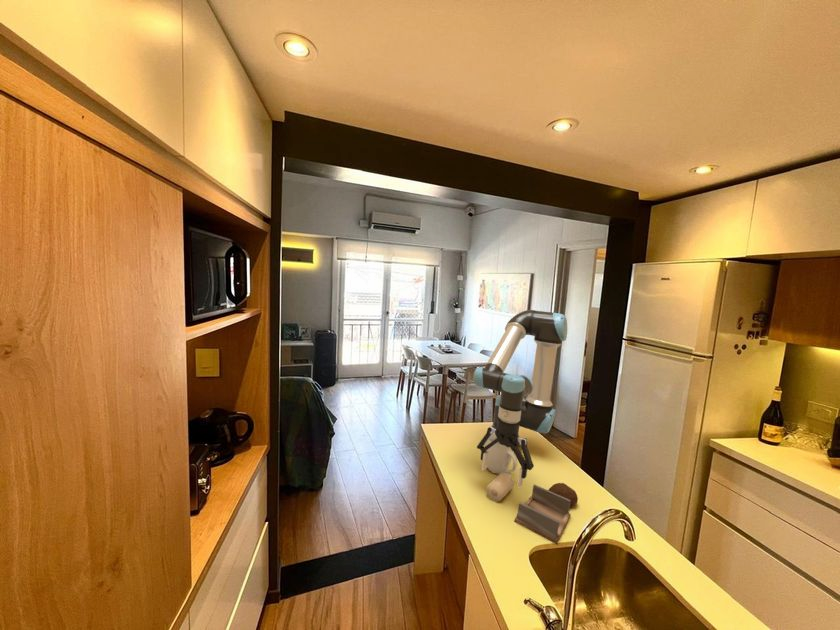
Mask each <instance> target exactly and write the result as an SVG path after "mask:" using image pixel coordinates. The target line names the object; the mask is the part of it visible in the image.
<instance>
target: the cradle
mask: <svg viewBox="0 0 840 630" xmlns="http://www.w3.org/2000/svg"><path fill="white" fill-rule="evenodd" d="M531 493H532V494H531V496H529V497H528V499H526V501H525V503H523V502H518V509H517V513H516V516H515V517H514V523H516V524H519V525H520V526H522V527H524V528H525V529H528V530H530V531H532V532H533V533H535V534H537V535H539V536H541V537H543V538H544V539H547V540H549V541H550V542H552V543H555V544H558V542H559V541H560V539H561V536H562V534H563V532H564V530H565V528H566V526H567V524H568V522H569V521H570V518H571V515H572V514H571V513H570V507H571V506H570V501H571V500H569V499H567V498H565V497H562V496H560V495H558V494H555V493H553V492H551V491H549V489H546V488H544V487H542V486H539V485H537V484H535V483H534V484H533V485H532V492H531Z"/></svg>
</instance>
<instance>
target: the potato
mask: <svg viewBox="0 0 840 630" xmlns="http://www.w3.org/2000/svg"><path fill="white" fill-rule="evenodd" d="M548 490H549V491H551V492H553V493H555V494H558V495H560V496H562V497H565V498H567V499H569V500H571V501H570V507H572V506H575V505H576V504H577V503H578V500H579V499H578V498H579V497H578V495H577V492H576V490H574V489H573V488H572V487H570V486H568V484H566V483H565V482H564V483H563V482H558V483H554V484H552V486H551V487H549V488H548Z"/></svg>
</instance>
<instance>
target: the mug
mask: <svg viewBox="0 0 840 630" xmlns="http://www.w3.org/2000/svg"><path fill="white" fill-rule="evenodd" d="M496 438H497V437H496V435H495V433H493V434H491V436H490V437H489V438H488V440H487V441H486V442H485V444H484V447H485V446H487V445H488V444H490V443H491V442H492V441H494V440H495V439H496ZM486 451H488V452H489V453H488V461H487V469H488V471H490V472H491V473H492V474H496V475H499V474H500V473H502V472H505V473H508V474H510V473H514V472H515V471H516V470H517V467H518V459H517V457H516V456H515V454H514V452H513V451H512V450H511V448H510V447H509V448H508V447H506V446H505V445H501V444H500V443H499V442H497V443H496V444H494V445H493V446H492V447H490V448H489V449H488V450H486ZM511 460H512V468H511V469H509V466H510V464H511Z"/></svg>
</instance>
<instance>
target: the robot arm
mask: <svg viewBox="0 0 840 630" xmlns="http://www.w3.org/2000/svg"><path fill="white" fill-rule="evenodd" d="M567 321H568V320H567V317H566V315H565V314H562V313H557V312H551V311H542V310H533V309H529V310H528V309H527V310H523V311H521V312H518V313H517V314H516V315H514V316H512V317H511V318H510V319H509V320H508V321H507V323H506V325H505V328H504V333H503V335H502V337H501V338H500V339H499V342H498V344H497V345H496V347H495V349H494V351H492V354H491V356H490V357H489V359H488V360H487V362H486V364H485V366H484V367H483V366H481V367H480V366H478V367H476V368H475V370H474V371H473V376H472V380H473V384H474V385H475V386H477V387H480V388H483V389H486V390H491V391H495V392H499V393H500V394H499V395H497V396H496V398H495V403H494V412H493V418H492V421H493V422H492V425H491V426H488V428H487V430H486V433H485V434H484V436H483V437H482V439H481V440H480V441H479V443H478V444H477V446H476V449H478V450H480V461H481V471H482V472H484V471H485V470H487V469H488V468H487V461H488V453H489V452H488V451H486V450H488V449H489V448H490V447H492V446H493V445H494V444H496V443H497V442H499V443H500V444H501V445H505V446H506V447H508V448H509V447H510V448H511V450H512V451H513V453H514V455H515V457H516V460H517V462H518V463H519V465H520V468H519V472H518V480H517V484H516V485H517V486H516V487H517V488H519V489H520V488H521V486H523V482H524V479H526V477H527V475H528V470H529V471H531V470H532V469H533V468H534V466H535V465H534V463H533V459H532V457H531V453H530V451H529V450H530V449H529V448H528V439H527V438H526V437H524V438H522V437H520V434H519V432H520V431H519V430H520V427H521V428H524V429H527V430H531V431H533V432H536V433H541V434H544V435H545V434H548V433H549V432H550V430H551V429H552V426H553V423H554V420H555V417H556V411H557V410H556V409H554V408H553V405H554V404H553V403H552V401H551V392H552V386H553V379H554V373H555V365H556V358H557V351H558V348H559V347H560V346H562V344H563V342H565V341H566V340H567V336H568V322H567ZM526 336H533V337H534V339H533V341H534V342H535V344H536V350H535V355H534V357H535V358H534V363H533V364H534V365H533V371H532V377H529V376H528V375H525V374H524V375H519V374H510V373H505V370H506V368H507V366H508V365H509V362H510V361H511V358H513V355H514V353H515V351H516V350H517V347H518V346H519V344H520V342H521V340H523V339H524V338H525V337H526ZM493 433H495V435H496V437H497V438H496V439H495V440H494V441H492V442H491V443H490V444H488V445H487V446H485V442H486V441H487V440H488V438H489V437H490V436H491V434H493ZM520 448H521V450H520Z"/></svg>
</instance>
